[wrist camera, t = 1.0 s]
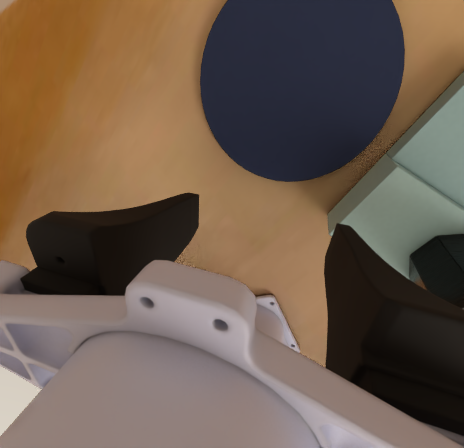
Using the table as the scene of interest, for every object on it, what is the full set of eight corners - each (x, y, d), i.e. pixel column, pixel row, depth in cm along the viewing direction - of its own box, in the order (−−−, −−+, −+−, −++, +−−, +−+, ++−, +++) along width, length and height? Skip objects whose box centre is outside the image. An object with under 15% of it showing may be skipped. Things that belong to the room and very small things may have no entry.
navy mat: (419, 141, 18) (422, 143, 18) (245, 199, 24) (243, 201, 24) (375, -112, 14) (377, -119, 13) (171, 38, 20) (168, 37, 19)
